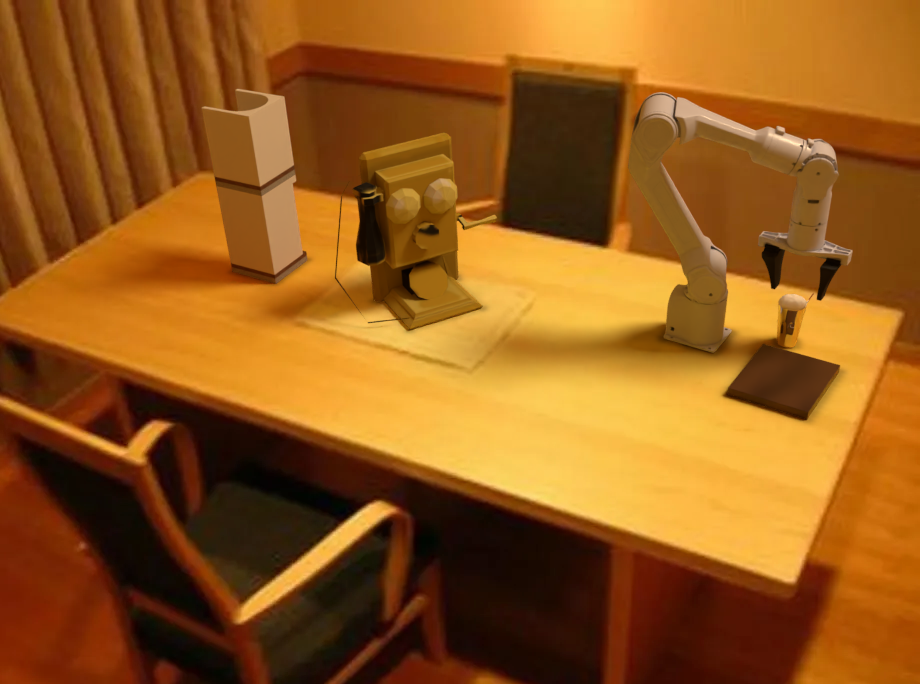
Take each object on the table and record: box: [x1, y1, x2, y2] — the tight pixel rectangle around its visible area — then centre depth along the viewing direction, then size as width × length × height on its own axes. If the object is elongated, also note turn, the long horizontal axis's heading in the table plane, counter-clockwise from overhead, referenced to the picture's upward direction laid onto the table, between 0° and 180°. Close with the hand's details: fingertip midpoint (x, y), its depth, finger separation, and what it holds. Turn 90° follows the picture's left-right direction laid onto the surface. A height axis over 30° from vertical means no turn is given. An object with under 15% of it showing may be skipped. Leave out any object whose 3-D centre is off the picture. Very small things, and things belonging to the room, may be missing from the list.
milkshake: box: [776, 292, 815, 349], centre depth 182 cm, size 5×5×10 cm
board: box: [727, 343, 841, 420], centre depth 175 cm, size 13×15×2 cm
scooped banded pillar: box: [201, 88, 308, 285], centre depth 212 cm, size 11×11×35 cm
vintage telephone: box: [334, 132, 498, 331], centre depth 196 cm, size 31×14×30 cm, turn 114°
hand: (797, 292), depth 179 cm, fingers open, 7 cm apart
